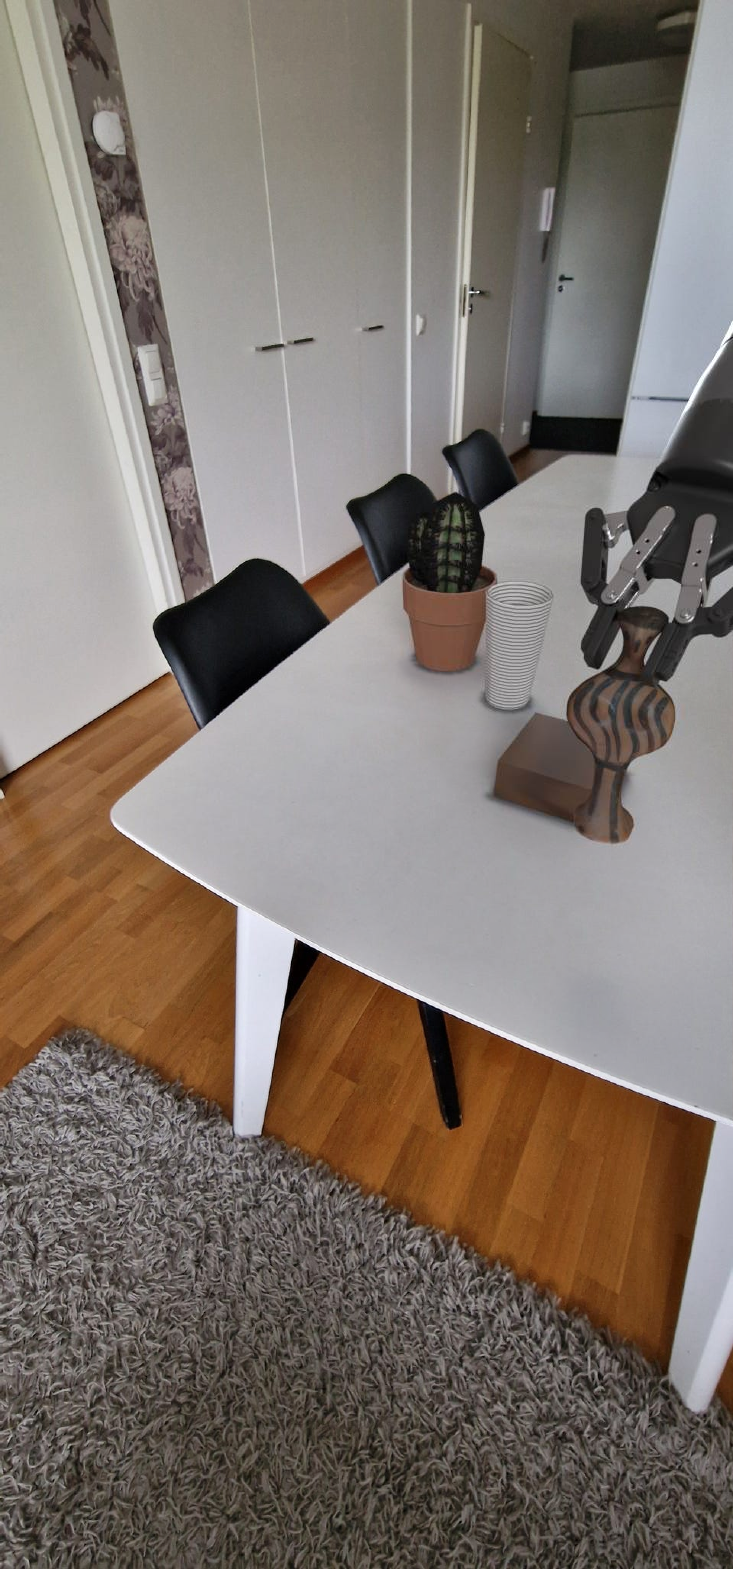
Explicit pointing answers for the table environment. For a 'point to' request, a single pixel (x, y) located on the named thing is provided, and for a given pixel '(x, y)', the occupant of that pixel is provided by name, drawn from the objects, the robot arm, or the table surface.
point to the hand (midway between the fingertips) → (619, 672)
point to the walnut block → (546, 768)
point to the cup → (514, 640)
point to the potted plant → (446, 583)
